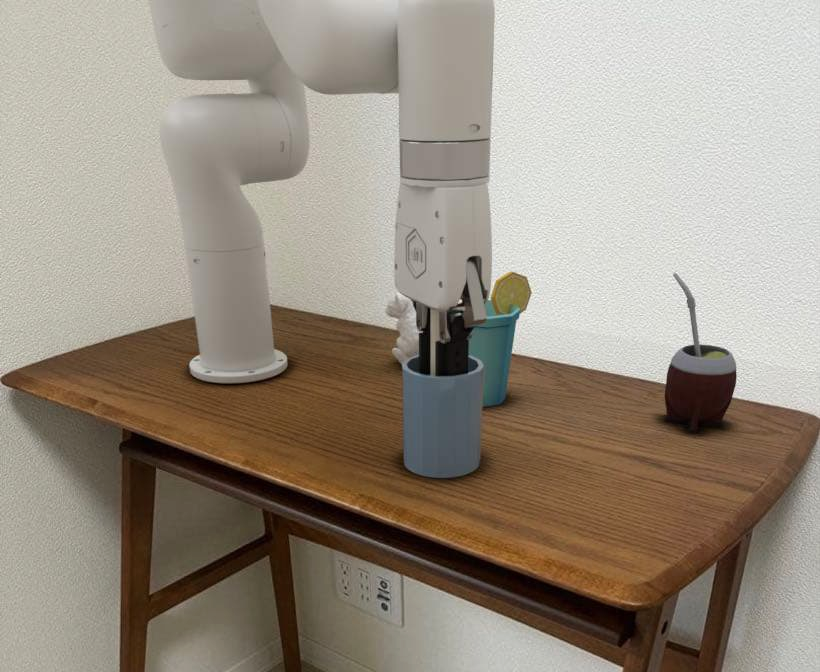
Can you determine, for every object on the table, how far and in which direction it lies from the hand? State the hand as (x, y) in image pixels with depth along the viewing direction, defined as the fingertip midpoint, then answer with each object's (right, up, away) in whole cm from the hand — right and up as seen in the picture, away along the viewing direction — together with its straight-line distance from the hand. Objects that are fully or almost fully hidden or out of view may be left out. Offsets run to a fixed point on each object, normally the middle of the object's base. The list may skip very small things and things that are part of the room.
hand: (443, 375), depth 77 cm
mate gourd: (+28, -3, +13) cm, 31 cm away
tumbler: (0, -8, +5) cm, 9 cm away
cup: (+5, +1, +19) cm, 20 cm away
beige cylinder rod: (0, -4, +2) cm, 5 cm away
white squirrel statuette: (-2, +7, +31) cm, 32 cm away
